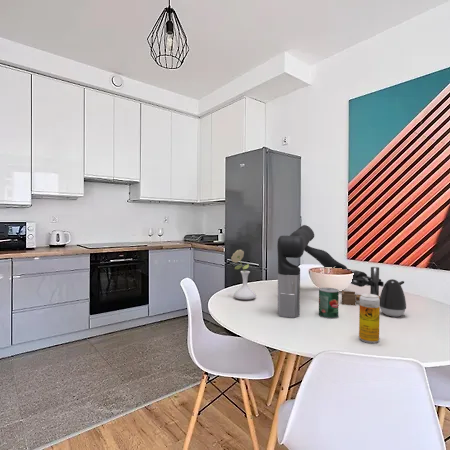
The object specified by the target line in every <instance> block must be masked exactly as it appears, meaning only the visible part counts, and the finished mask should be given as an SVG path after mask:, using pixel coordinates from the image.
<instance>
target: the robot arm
mask: <svg viewBox="0 0 450 450" xmlns="http://www.w3.org/2000/svg"><path fill="white" fill-rule="evenodd" d="M314 239H315V233H314V230H313V228H311V227H310V226H308V225H307V224H303V225H301V226H300V227H299V228H298V229H296V230H294V231H293V232H292V233H290V235H280V236H279V237H278V239H277V246H276V247H277V313H276V314H277V315H279V317H283V318H294V319H296V318H298V317H300V313H301V305H300V304H301V301H300V300H301V268H300V267H299V266H298V265H295V264H293V263H291V262H290V261H288V260H287V258H289V259H290V258H291V259H292V258H293V259H298V258H301V257H302V256H303V254H304V252H306V253H307V254H308V255H310V256H311V257H313V258H314V259H315V260H316V261H318V262H319V264H321V266H323V268H325V267H332V269H334V268H342V269H347V270H351V271H352V272H353V273H354V275H353V279H352V282H351V283H350V284H351V285H354V286H356V287H361V288H362V287H365V286H370V287H371V286H372V287H375V284H376V283H375V282H373V281H371V276H368V274H367V273H366V272H364V271H359V270H356V269H351V268H348V267H347V266H346V265H345V264H343V263H341V262H339V261H338V260H336V259H335V258H333V257H332V255H330V253H328V252H327V251H326V250H324V249H320V248H316V247H311V246H310V245H309V243H310V242H311V241H312V240H314ZM384 285H385V283H384V281H382V279H381V278H379V287H382V288H383V287H384Z"/></svg>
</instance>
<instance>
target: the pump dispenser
mask: <svg viewBox="0 0 450 450" xmlns="http://www.w3.org/2000/svg"><path fill="white" fill-rule="evenodd" d="M403 284H405V281H404V280H402V281H398V280H397V279H394V278H393V279H392V278H391V279H388V280H386V282H385V283H384V286H383V287H382V289H381V291H380V294H379V295H380V312H382V313H383V314H385V315H386V316H388V317H393V318H398V317H401V316H403V315H404V314H405V311H406V309H407V301H406V295H405V292H404V289H403V287H402V285H403Z"/></svg>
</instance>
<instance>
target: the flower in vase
mask: <svg viewBox="0 0 450 450" xmlns="http://www.w3.org/2000/svg"><path fill="white" fill-rule="evenodd" d="M244 255H245V251H244V250H243V249H237V250H236V251H234V253H232V256H231V258H230V259H231V262H233V263H236V264H237V263H239V262H240V263H239V264H240V265H236V266H235V267H234V270H240V269H241V268H242V270H240V274H241V277H242V285H241V287H240V288H238V289H237V290H236V291H235V292H234V293H233V297H234V298H236V299H238V300H253V299H256V297H257V294H256V293H255V291H253V289H251V288H250V287H249V285H248V278H249V274H250V273H251V271H249V270H247V269H248V268H249V267H250V264H249V263H247V264H245V265H244V266H243V265H242V259H243V258H244Z"/></svg>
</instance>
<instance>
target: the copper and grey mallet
mask: <svg viewBox="0 0 450 450" xmlns="http://www.w3.org/2000/svg"><path fill="white" fill-rule="evenodd" d="M370 277H371V281H373V282H375V283H376V284H375V287H372V286H370V287H369V288H370V292H369V294H374V295H377V296H379V295H380V286H379V279H380V267H378V266H371V267H370ZM355 294H356V302H360V296H361V294H357V293H355ZM379 299H380V296H379Z"/></svg>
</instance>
